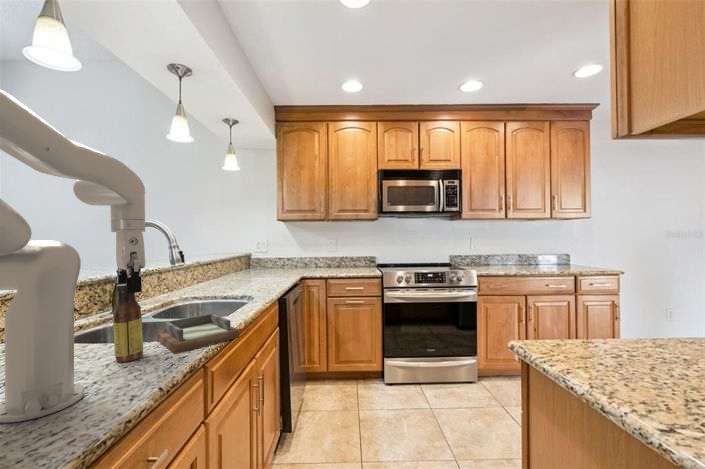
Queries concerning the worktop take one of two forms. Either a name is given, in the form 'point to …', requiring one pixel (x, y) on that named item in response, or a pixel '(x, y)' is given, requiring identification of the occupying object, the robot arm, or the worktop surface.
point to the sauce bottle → (127, 327)
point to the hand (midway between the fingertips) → (129, 290)
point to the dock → (196, 332)
